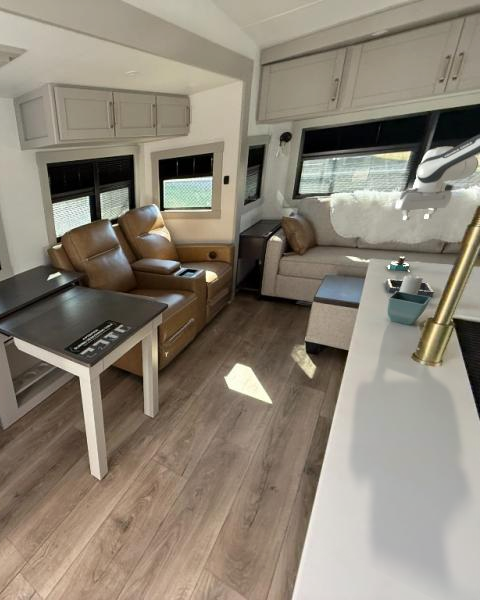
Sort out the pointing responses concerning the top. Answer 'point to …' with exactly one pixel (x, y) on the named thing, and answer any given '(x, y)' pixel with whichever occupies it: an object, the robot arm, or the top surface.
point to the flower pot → (406, 307)
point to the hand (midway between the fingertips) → (416, 219)
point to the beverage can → (411, 284)
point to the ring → (399, 266)
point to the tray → (396, 284)
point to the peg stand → (400, 263)
